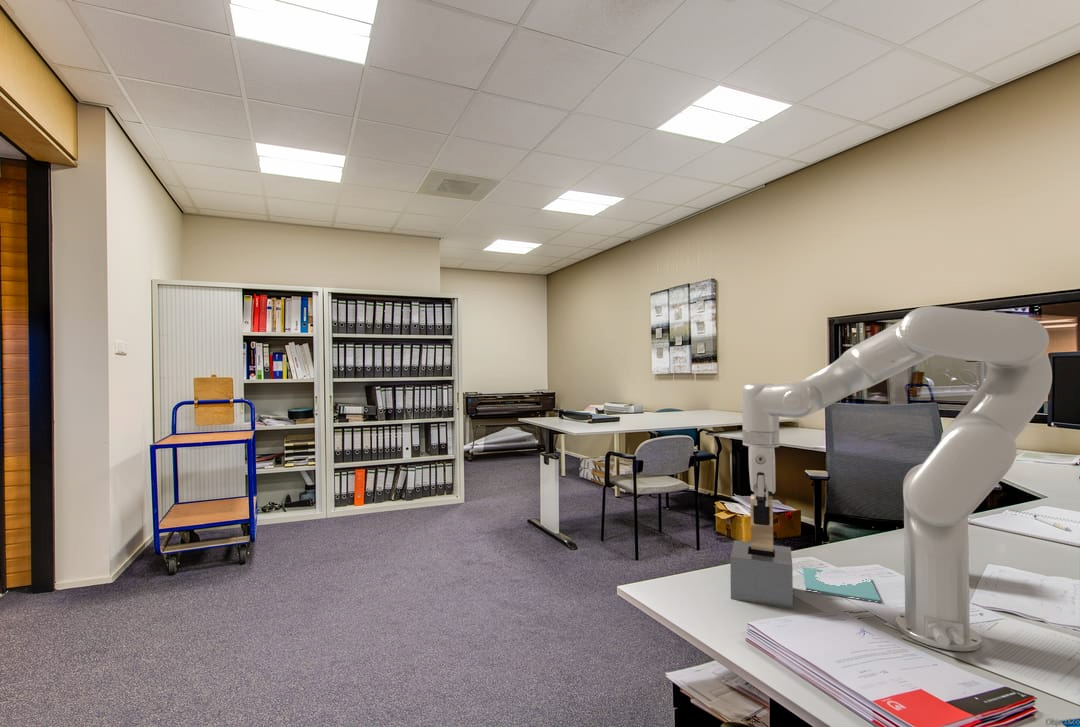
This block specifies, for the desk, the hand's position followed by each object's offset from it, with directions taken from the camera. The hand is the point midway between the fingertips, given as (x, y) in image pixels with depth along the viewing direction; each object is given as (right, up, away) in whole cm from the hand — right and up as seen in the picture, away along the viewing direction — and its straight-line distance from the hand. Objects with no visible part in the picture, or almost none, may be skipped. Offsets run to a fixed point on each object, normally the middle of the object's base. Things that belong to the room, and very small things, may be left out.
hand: (761, 520), depth 113 cm
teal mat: (+19, -16, +4) cm, 25 cm away
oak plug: (0, -6, 0) cm, 6 cm away
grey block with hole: (0, -16, 0) cm, 16 cm away
